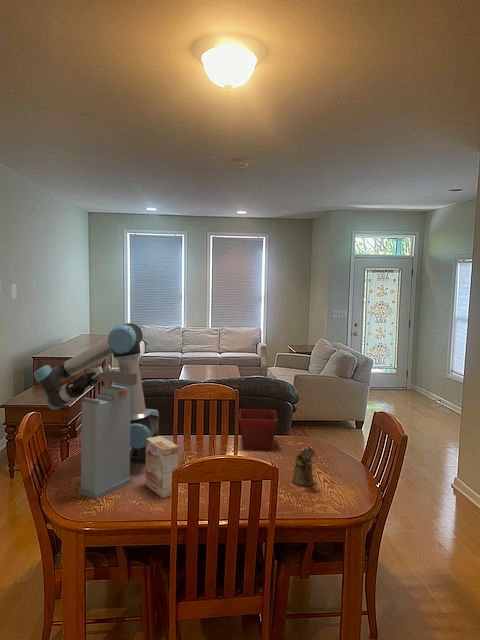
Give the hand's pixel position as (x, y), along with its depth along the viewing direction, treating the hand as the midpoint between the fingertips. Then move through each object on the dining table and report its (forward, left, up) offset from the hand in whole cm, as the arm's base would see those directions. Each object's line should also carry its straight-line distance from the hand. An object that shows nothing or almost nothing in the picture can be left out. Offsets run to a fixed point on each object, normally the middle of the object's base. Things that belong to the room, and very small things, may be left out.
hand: (105, 368), depth 190 cm
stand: (-1, +7, -47) cm, 48 cm away
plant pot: (-74, -32, -47) cm, 94 cm away
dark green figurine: (-81, +17, -47) cm, 96 cm away
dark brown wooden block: (-2, +2, -5) cm, 6 cm away
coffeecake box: (-22, +12, -47) cm, 54 cm away
